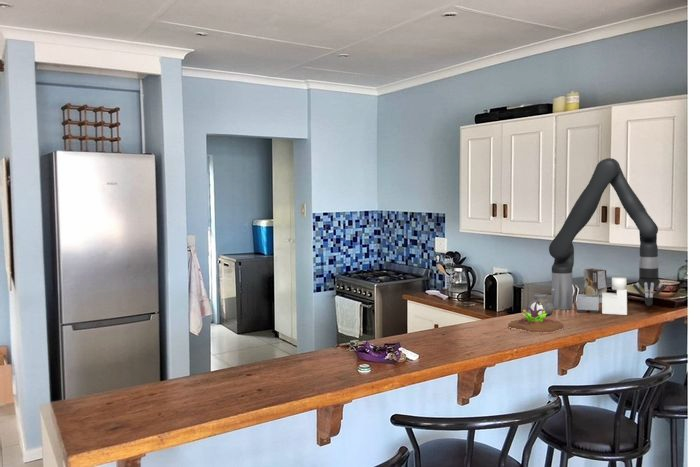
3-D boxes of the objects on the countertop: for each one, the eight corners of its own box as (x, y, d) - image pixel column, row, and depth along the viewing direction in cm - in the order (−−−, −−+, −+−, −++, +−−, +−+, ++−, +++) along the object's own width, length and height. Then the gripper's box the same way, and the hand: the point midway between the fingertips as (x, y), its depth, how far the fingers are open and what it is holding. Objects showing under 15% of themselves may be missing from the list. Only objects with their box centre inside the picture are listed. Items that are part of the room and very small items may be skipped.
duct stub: (577, 312, 262) (577, 296, 261) (577, 310, 267) (577, 294, 267) (598, 313, 258) (598, 297, 258) (598, 311, 263) (598, 294, 263)
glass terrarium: (544, 319, 250) (543, 295, 251) (527, 318, 256) (526, 295, 257) (557, 317, 258) (556, 294, 259) (541, 316, 264) (540, 294, 265)
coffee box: (607, 302, 282) (607, 270, 281) (598, 303, 280) (597, 271, 279) (592, 299, 291) (592, 268, 290) (583, 300, 288) (583, 269, 287)
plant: (572, 329, 233) (571, 302, 233) (539, 337, 223) (539, 308, 222) (533, 321, 250) (532, 295, 250) (501, 328, 240) (500, 301, 239)
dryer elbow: (602, 313, 256) (601, 279, 255) (602, 310, 264) (602, 276, 263) (627, 314, 252) (626, 279, 251) (626, 311, 260) (626, 276, 259)
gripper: (632, 267, 250) (632, 306, 251) (666, 268, 245) (666, 308, 246) (631, 265, 257) (631, 303, 258) (665, 265, 251) (665, 304, 253)
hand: (648, 305), depth 252 cm, fingers closed
